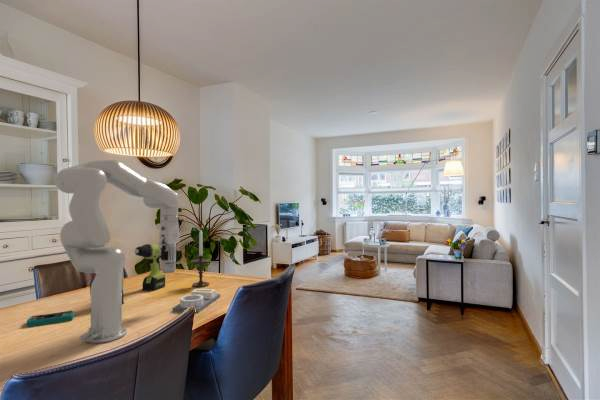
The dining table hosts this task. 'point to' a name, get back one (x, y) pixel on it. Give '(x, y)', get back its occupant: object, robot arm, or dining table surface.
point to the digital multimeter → (50, 318)
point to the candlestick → (200, 262)
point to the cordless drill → (152, 267)
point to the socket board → (206, 302)
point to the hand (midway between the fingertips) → (168, 258)
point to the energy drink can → (170, 260)
